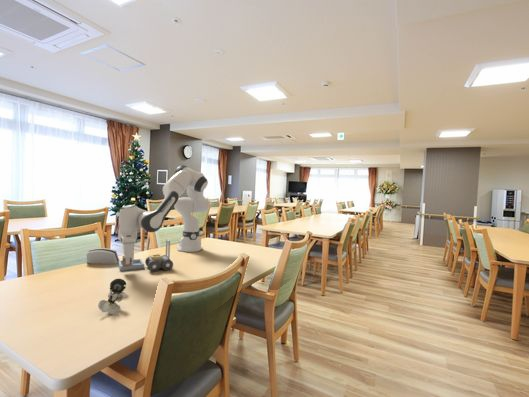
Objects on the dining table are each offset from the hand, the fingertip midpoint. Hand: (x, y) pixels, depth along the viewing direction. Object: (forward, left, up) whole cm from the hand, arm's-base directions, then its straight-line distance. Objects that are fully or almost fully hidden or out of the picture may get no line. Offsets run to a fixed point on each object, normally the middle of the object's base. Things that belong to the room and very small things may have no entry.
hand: (127, 261), depth 142 cm
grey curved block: (-25, -11, -7) cm, 28 cm away
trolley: (-3, +17, -6) cm, 18 cm away
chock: (0, 0, -2) cm, 2 cm away
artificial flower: (+37, -7, -7) cm, 38 cm away
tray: (-11, +3, -6) cm, 13 cm away
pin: (-11, +3, -6) cm, 13 cm away
